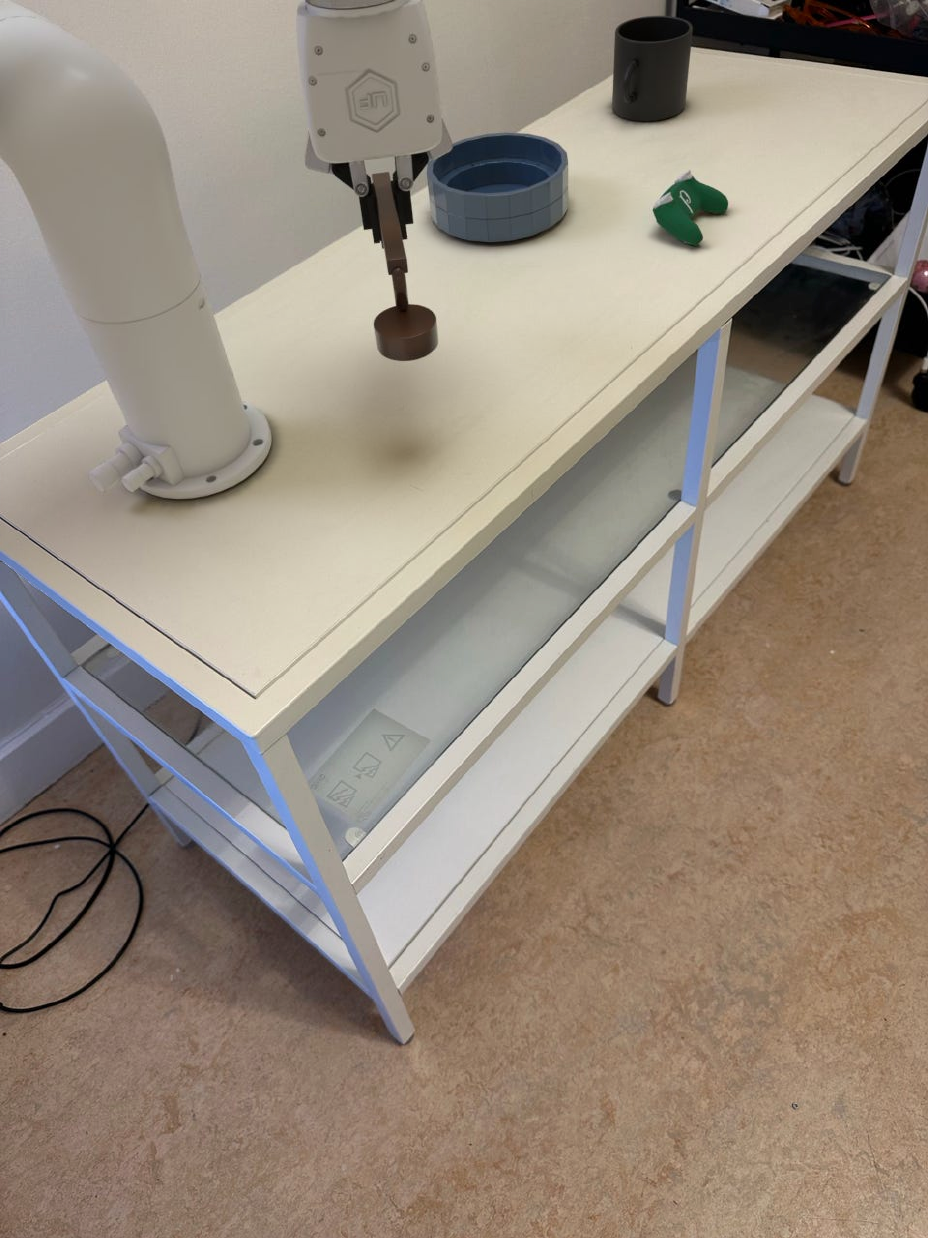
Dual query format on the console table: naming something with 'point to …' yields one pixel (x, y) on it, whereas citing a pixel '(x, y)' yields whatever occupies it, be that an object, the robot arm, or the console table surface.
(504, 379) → the console table surface
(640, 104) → the mug
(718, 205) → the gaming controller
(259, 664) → the console table surface
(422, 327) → the brown long handled part
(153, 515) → the console table surface
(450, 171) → the bowl
